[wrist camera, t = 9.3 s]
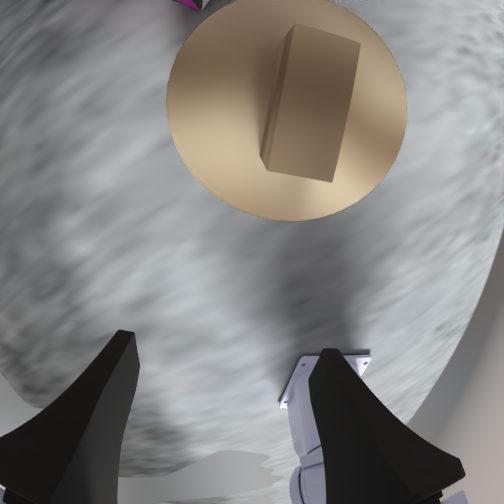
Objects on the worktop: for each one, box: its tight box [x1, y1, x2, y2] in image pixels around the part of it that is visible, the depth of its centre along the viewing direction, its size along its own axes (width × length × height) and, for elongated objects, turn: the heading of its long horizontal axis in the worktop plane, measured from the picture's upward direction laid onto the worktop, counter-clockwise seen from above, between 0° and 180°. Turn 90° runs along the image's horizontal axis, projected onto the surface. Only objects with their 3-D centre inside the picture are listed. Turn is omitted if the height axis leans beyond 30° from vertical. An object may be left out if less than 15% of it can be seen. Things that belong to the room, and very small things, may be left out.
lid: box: [166, 0, 407, 221], centre depth 9 cm, size 10×10×4 cm
